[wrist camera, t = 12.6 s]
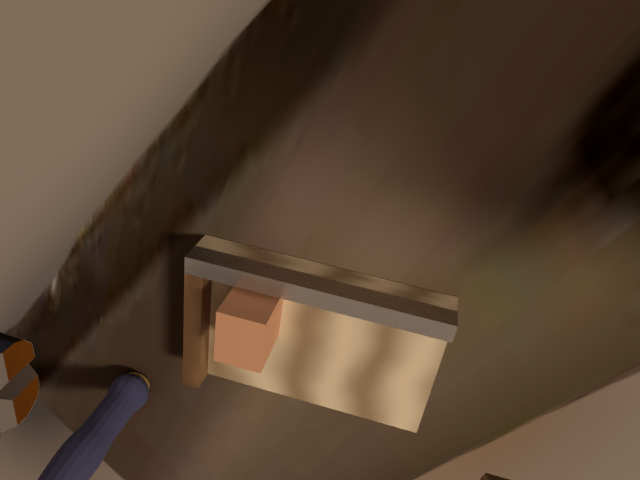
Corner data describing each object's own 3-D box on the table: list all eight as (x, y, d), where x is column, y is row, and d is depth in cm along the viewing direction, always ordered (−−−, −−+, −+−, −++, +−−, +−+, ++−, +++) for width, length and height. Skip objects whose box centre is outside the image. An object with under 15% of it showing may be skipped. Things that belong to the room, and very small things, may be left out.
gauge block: (284, 289, 44) (265, 325, 40) (278, 335, 46) (260, 373, 42) (239, 277, 44) (216, 311, 40) (236, 323, 47) (213, 360, 43)
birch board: (457, 297, 43) (457, 326, 39) (417, 416, 50) (414, 450, 46) (205, 234, 46) (184, 256, 42) (200, 355, 52) (182, 383, 49)
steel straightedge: (457, 311, 41) (457, 326, 39) (452, 327, 42) (452, 342, 40) (195, 245, 44) (184, 256, 42) (194, 261, 45) (184, 273, 43)
